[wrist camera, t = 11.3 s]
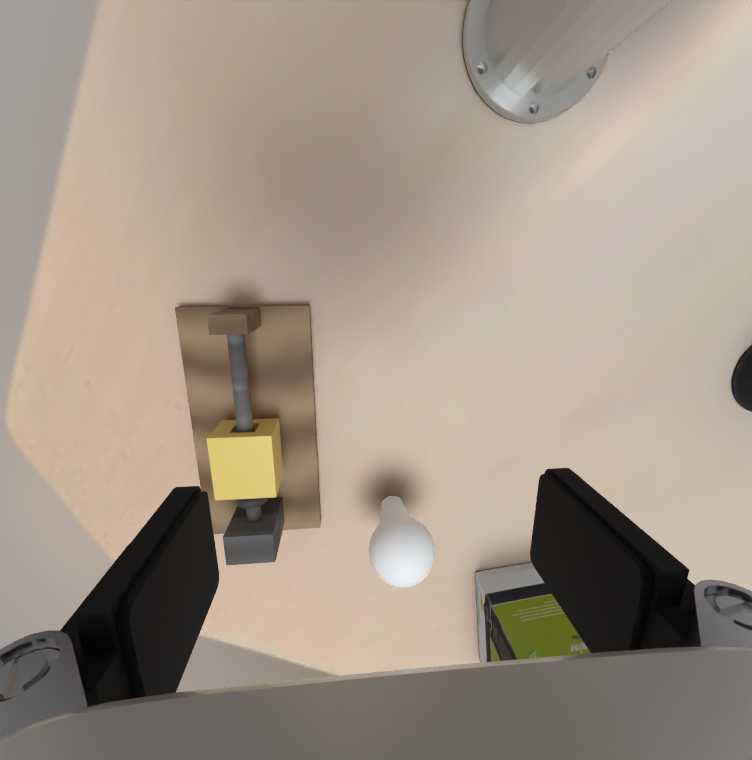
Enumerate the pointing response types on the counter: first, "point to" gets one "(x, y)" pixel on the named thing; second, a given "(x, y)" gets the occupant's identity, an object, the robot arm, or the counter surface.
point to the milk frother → (744, 381)
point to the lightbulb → (400, 546)
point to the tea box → (521, 617)
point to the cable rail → (254, 413)
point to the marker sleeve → (246, 460)
